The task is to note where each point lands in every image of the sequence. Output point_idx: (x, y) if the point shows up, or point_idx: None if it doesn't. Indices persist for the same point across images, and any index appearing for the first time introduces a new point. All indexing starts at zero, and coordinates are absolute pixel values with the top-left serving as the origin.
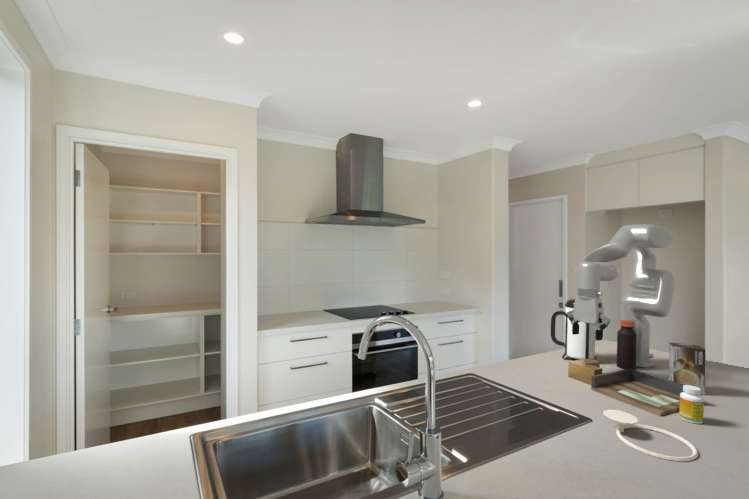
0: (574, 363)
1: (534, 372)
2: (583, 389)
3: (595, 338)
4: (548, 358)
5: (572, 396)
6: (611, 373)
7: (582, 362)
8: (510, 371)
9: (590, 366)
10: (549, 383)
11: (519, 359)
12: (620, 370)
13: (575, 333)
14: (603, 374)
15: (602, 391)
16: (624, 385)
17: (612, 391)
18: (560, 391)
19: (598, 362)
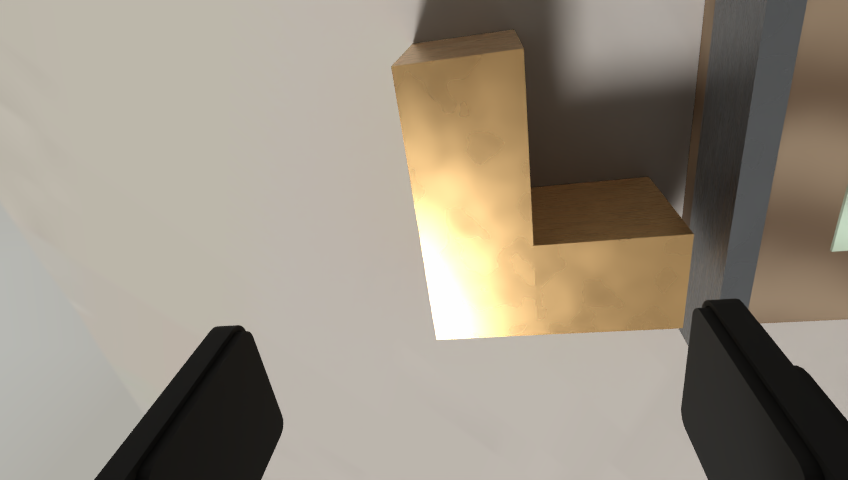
0: (491, 336)
1: (332, 387)
2: (646, 349)
3: (691, 433)
4: (16, 78)
5: (682, 458)
6: (768, 198)
7: (490, 254)
8: (301, 471)
9: (603, 283)
10: (503, 431)
11: (79, 307)
12: (773, 12)
13: (270, 409)
14: (741, 283)
15: (758, 320)
16: (802, 74)
17: (805, 274)
18: (609, 459)
19: (523, 72)
